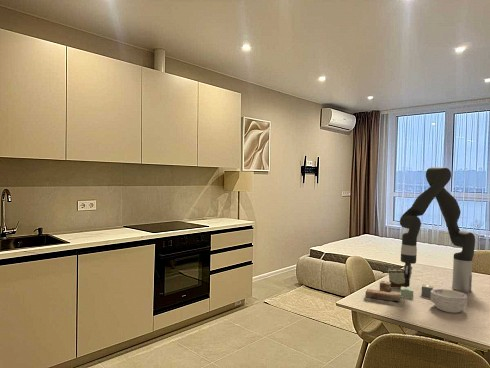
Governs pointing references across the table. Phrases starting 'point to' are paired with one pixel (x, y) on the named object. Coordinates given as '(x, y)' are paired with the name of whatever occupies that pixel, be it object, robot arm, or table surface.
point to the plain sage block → (407, 292)
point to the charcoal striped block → (426, 290)
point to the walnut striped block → (385, 286)
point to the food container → (396, 277)
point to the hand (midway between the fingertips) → (407, 286)
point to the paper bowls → (448, 300)
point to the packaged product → (384, 297)
